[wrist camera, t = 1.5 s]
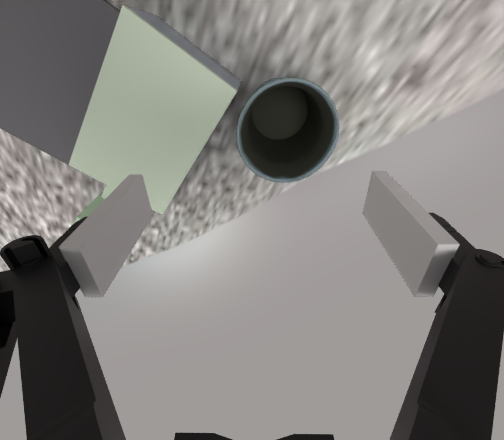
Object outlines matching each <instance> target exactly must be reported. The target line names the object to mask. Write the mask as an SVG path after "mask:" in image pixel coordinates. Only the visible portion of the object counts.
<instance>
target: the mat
mask: <svg viewBox="0 0 504 440" xmlns="http://www.w3.org/2000/svg"><path fill="white" fill-rule="evenodd" d="M119 14H120V11H119V10H118V9H117V8H115V7H114V6H113V5H111V4H110V3H109V2H107V1H106V0H0V128H1V129H3V130H4V131H6V132H8V133H10V134H12V135H14V136H16V137H18V138H19V139H21V140H23V141H25V142H27V143H29V144H31V145H32V146H34V147H36V148H38V149H40V150H42V151H44V152H46V153H47V154H49V155H51V156H53V157H55V158H57V159H59V160H60V161H62V162H64V163H66V164H68V165H69V162H70V159H71V156H72V153H73V150H74V147H75V144H76V141H77V138H78V135H79V132H80V129H81V126H82V123H83V121H84V118H85V115H86V112H87V109H88V106H89V103H90V100H91V97H92V94H93V91H94V88H95V85H96V82H97V79H98V76H99V73H100V70H101V67H102V64H103V61H104V58H105V55H106V52H107V50H108V47H109V44H110V41H111V38H112V35H113V32H114V29H115V26H116V23H117V20H118V17H119Z"/></svg>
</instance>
